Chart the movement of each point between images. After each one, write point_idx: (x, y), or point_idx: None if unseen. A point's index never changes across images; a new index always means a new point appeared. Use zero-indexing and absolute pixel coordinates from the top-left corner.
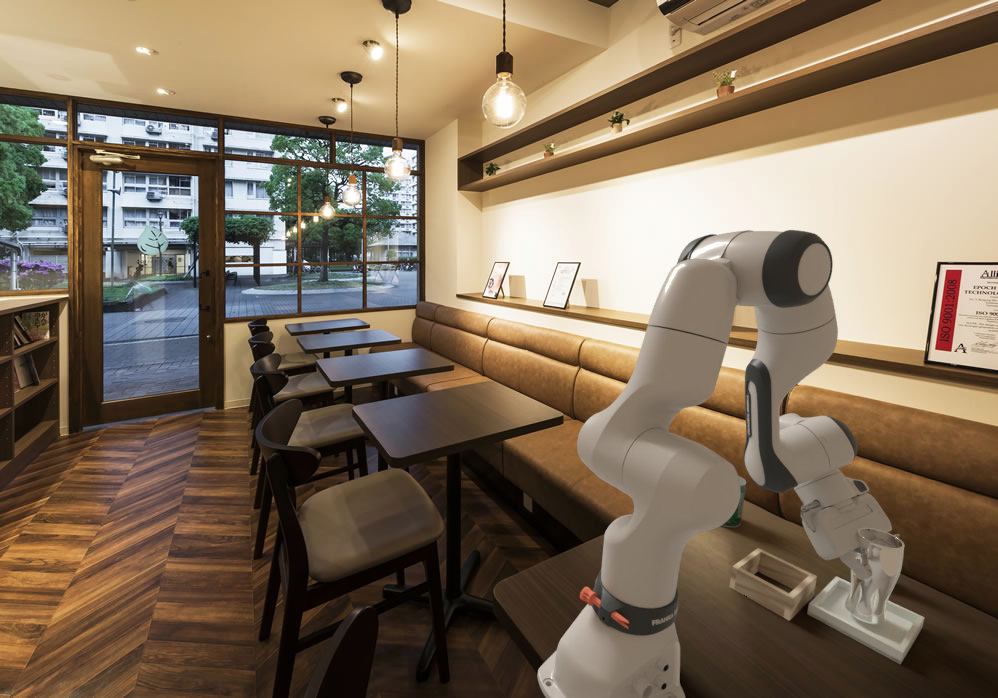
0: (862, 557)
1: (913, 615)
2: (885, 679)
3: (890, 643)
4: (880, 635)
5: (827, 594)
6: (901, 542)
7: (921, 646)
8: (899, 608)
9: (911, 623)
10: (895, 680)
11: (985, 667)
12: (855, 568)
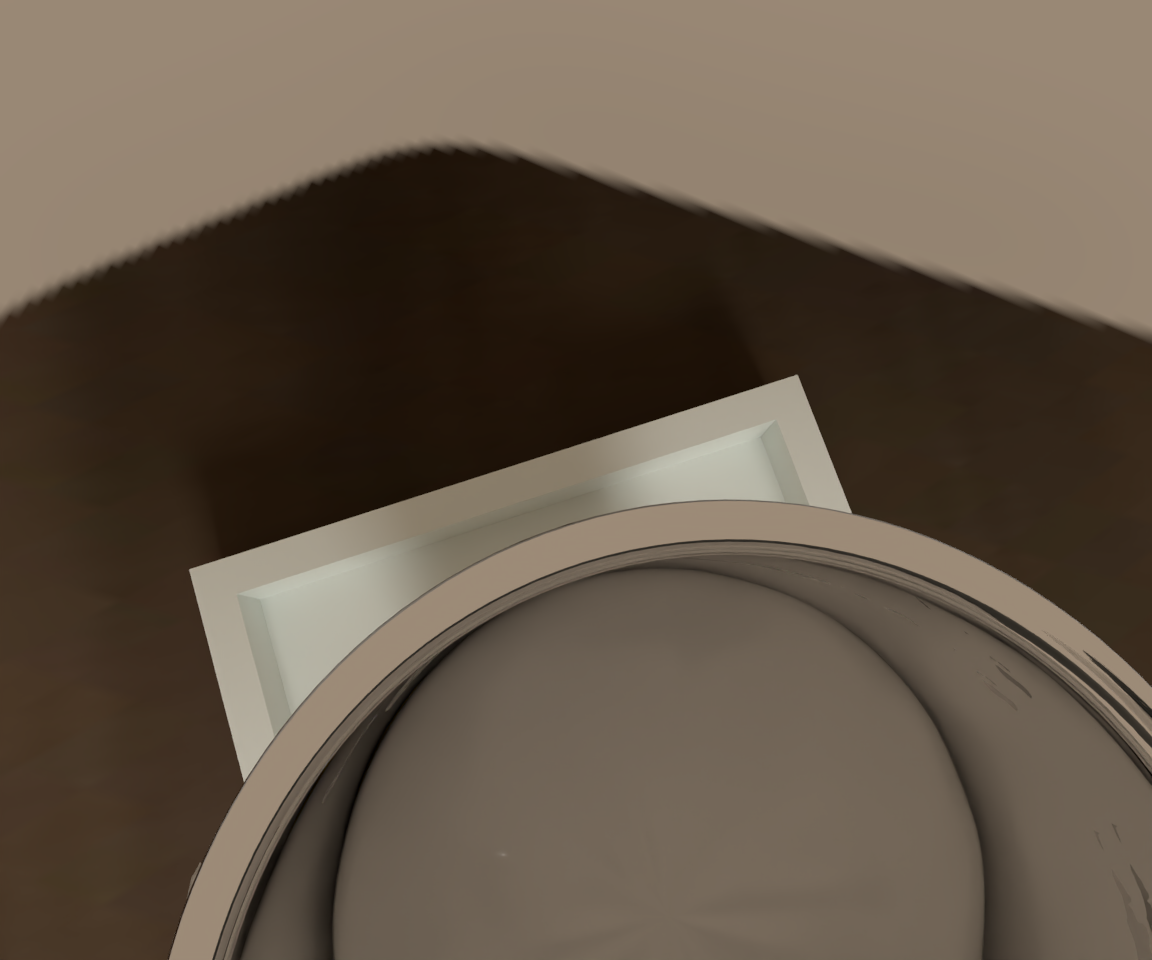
0: (1066, 949)
1: (245, 620)
2: (993, 357)
3: (793, 462)
4: None
5: None
6: (363, 709)
7: (445, 464)
8: (271, 713)
9: (283, 616)
10: (937, 333)
11: (238, 226)
12: None
